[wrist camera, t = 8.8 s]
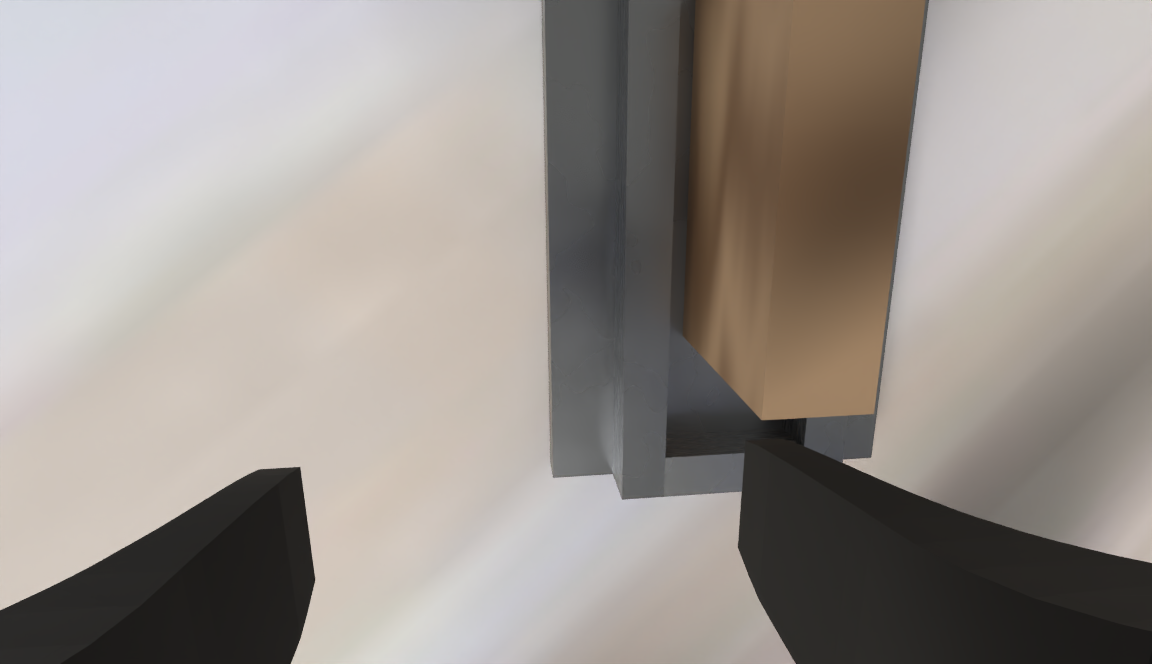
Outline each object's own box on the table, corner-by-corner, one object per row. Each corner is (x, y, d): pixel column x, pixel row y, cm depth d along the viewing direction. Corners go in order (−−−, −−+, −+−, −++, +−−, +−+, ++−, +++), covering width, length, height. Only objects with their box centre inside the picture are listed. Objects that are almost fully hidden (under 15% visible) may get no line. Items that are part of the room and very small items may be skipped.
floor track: (854, 443, 22) (898, 480, 20) (550, 462, 21) (557, 503, 19) (931, -206, 17) (1001, -260, 15) (537, -226, 16) (545, -287, 14)
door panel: (763, 333, 20) (873, 414, 14) (682, 336, 20) (761, 420, 14) (788, -9, 17) (935, -79, 12) (696, -11, 17) (799, -83, 11)
